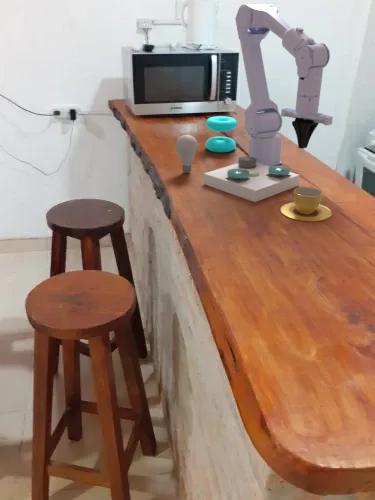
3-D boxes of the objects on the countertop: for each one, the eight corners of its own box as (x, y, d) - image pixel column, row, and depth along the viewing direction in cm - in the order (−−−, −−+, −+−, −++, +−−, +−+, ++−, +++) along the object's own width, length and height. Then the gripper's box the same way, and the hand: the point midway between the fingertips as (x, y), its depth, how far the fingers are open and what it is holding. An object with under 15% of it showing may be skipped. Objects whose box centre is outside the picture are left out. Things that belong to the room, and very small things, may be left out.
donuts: (202, 116, 167) (231, 114, 169) (201, 146, 172) (230, 144, 174) (211, 123, 158) (241, 121, 161) (210, 154, 163) (239, 152, 165)
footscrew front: (236, 184, 137) (237, 167, 135) (252, 189, 134) (253, 172, 132) (222, 189, 134) (222, 171, 132) (238, 194, 130) (239, 176, 128)
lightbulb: (195, 177, 143) (195, 138, 138) (173, 175, 144) (173, 137, 139) (199, 170, 148) (199, 132, 143) (178, 169, 149) (178, 131, 144)
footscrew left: (275, 181, 140) (277, 164, 138) (292, 186, 136) (294, 169, 134) (262, 185, 136) (264, 168, 134) (279, 191, 133) (281, 173, 131)
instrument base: (247, 170, 149) (248, 153, 146) (298, 185, 137) (300, 167, 135) (203, 184, 138) (204, 166, 135) (254, 202, 126) (256, 182, 124)
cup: (328, 226, 114) (331, 203, 111) (275, 218, 118) (277, 196, 115) (334, 207, 124) (337, 186, 121) (285, 200, 128) (287, 180, 125)
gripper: (275, 93, 132) (271, 144, 138) (323, 101, 122) (317, 156, 129) (292, 90, 136) (287, 140, 142) (339, 97, 127) (332, 151, 133)
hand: (302, 147), depth 136 cm, fingers closed
